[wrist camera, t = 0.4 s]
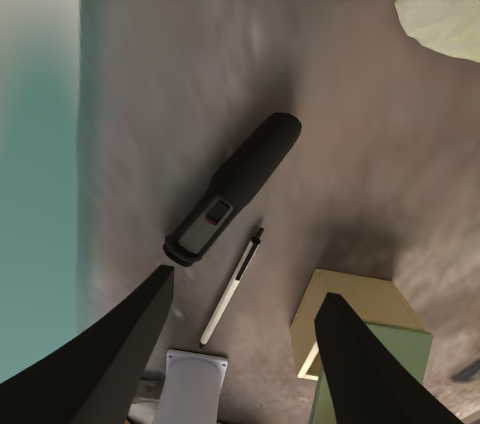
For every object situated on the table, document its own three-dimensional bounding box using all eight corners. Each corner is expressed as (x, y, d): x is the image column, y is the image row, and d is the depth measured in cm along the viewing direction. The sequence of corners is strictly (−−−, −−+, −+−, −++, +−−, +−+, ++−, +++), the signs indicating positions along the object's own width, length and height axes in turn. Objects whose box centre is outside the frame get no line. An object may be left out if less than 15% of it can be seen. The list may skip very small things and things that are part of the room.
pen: (266, 227, 21) (266, 234, 20) (203, 345, 29) (202, 354, 28) (257, 224, 21) (257, 231, 20) (197, 343, 29) (195, 352, 28)
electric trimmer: (309, 132, 17) (321, 140, 14) (195, 260, 23) (187, 283, 20) (271, 97, 16) (275, 98, 13) (162, 239, 22) (149, 261, 19)
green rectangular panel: (400, 451, 19) (405, 459, 18) (305, 436, 19) (307, 444, 18) (427, 330, 18) (433, 335, 18) (330, 314, 18) (333, 318, 17)
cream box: (354, 339, 27) (375, 389, 23) (289, 328, 27) (296, 377, 22) (392, 281, 23) (427, 329, 18) (315, 267, 23) (330, 312, 18)
